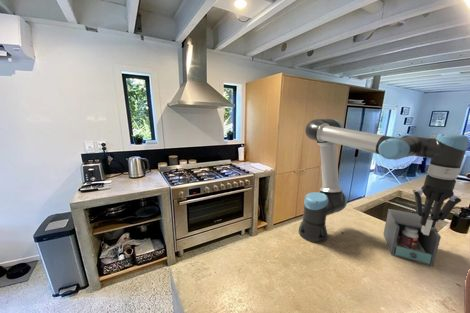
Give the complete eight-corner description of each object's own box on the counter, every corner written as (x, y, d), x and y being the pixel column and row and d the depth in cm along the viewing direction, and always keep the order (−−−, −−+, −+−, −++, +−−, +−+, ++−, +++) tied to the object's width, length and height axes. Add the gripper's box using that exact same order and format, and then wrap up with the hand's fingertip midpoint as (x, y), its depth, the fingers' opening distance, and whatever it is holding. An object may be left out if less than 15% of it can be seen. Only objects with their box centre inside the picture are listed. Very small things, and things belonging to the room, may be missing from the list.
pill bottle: (412, 254, 90) (417, 233, 87) (396, 246, 95) (400, 226, 92) (417, 249, 93) (422, 229, 91) (401, 242, 98) (405, 223, 96)
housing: (383, 234, 107) (388, 208, 104) (418, 242, 100) (425, 215, 97) (390, 254, 92) (397, 225, 88) (432, 266, 85) (441, 234, 82)
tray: (387, 235, 105) (389, 228, 104) (416, 242, 99) (418, 234, 98) (396, 256, 89) (397, 248, 88) (430, 265, 84) (432, 257, 83)
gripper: (421, 176, 69) (406, 233, 74) (473, 183, 63) (452, 244, 68) (414, 171, 75) (400, 223, 81) (460, 176, 69) (442, 232, 75)
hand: (424, 233), depth 75 cm, fingers closed
